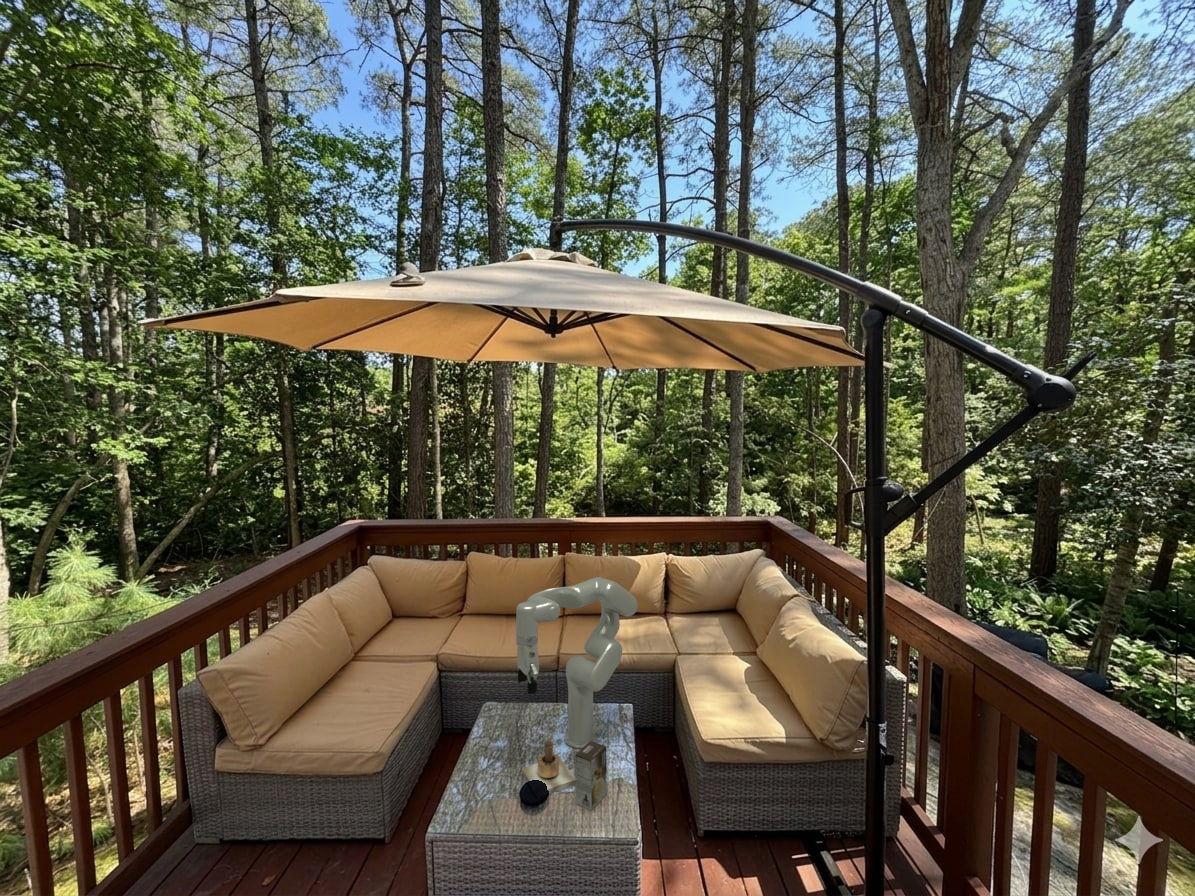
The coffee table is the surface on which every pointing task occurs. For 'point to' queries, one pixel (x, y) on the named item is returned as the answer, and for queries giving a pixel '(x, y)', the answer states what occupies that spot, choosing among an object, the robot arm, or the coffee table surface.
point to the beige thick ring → (548, 766)
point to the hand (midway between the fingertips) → (527, 687)
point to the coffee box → (591, 775)
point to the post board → (554, 783)
